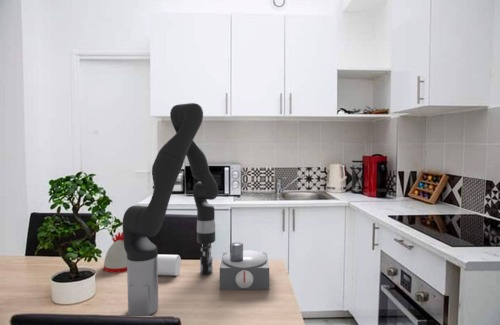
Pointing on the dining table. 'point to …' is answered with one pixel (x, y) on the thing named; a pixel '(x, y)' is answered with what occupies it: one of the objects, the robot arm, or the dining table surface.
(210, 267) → the cylinder
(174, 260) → the mug
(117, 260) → the kitchen timer
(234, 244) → the cylinder
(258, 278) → the scale
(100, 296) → the dining table surface
